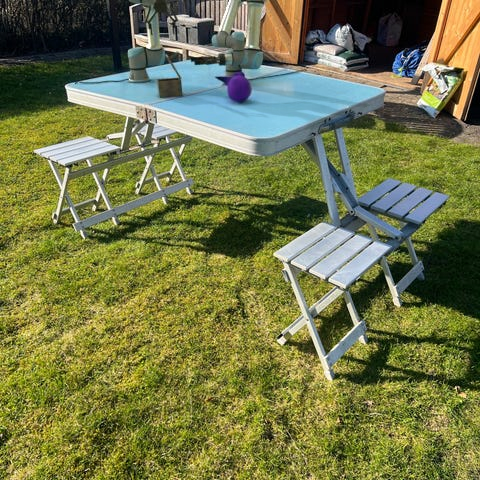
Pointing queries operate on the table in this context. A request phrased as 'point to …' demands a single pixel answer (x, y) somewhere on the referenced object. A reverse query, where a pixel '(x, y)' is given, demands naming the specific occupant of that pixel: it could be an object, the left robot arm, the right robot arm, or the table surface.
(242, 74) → the toy
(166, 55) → the lid
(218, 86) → the table surface
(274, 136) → the table surface
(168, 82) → the chest
